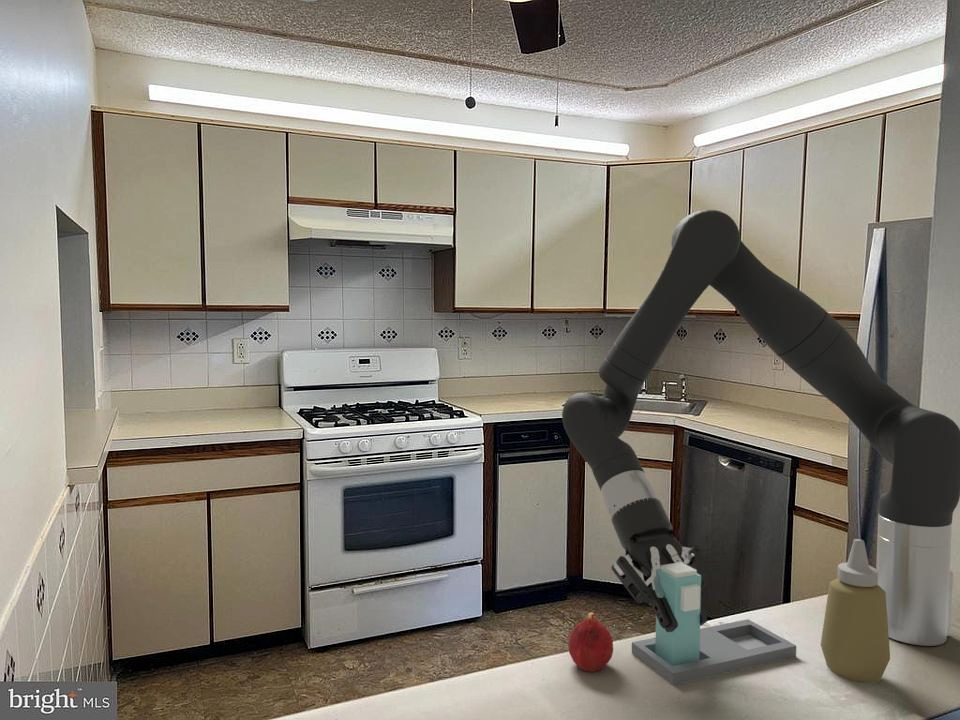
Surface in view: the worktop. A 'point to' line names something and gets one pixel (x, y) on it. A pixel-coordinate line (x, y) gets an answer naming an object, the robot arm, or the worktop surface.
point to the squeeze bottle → (856, 621)
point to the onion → (590, 644)
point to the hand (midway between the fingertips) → (687, 626)
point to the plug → (680, 614)
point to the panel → (720, 652)
